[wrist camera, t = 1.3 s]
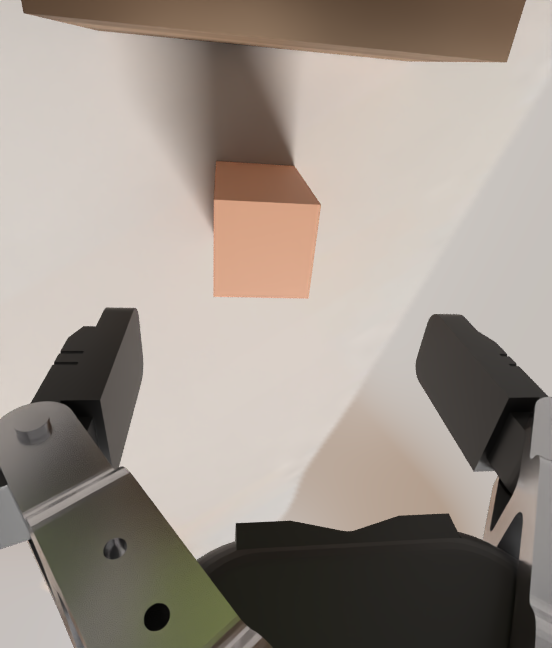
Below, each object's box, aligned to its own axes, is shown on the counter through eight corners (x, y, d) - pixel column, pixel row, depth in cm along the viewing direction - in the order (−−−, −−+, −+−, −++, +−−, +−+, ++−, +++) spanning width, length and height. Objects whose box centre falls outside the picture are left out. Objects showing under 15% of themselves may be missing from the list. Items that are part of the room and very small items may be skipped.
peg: (216, 160, 21) (213, 199, 15) (294, 165, 22) (321, 205, 16) (215, 236, 23) (213, 296, 17) (286, 239, 24) (308, 298, 18)
